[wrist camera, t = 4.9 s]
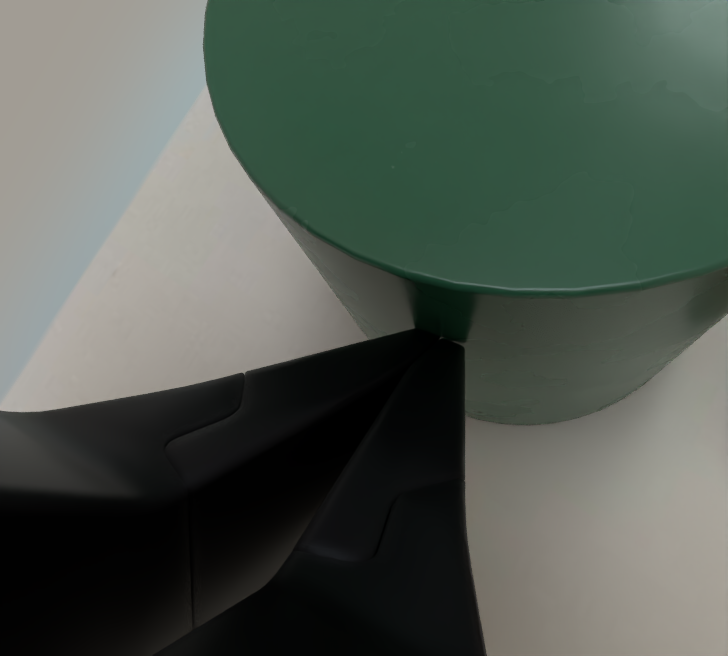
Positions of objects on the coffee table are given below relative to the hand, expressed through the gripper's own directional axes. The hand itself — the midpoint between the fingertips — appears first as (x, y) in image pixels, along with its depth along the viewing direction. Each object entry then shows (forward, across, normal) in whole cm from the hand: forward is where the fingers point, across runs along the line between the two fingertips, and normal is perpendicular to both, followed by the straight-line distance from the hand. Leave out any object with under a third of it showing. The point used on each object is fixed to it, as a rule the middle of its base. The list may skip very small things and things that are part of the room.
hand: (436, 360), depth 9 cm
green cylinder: (+9, 0, +2) cm, 9 cm away
